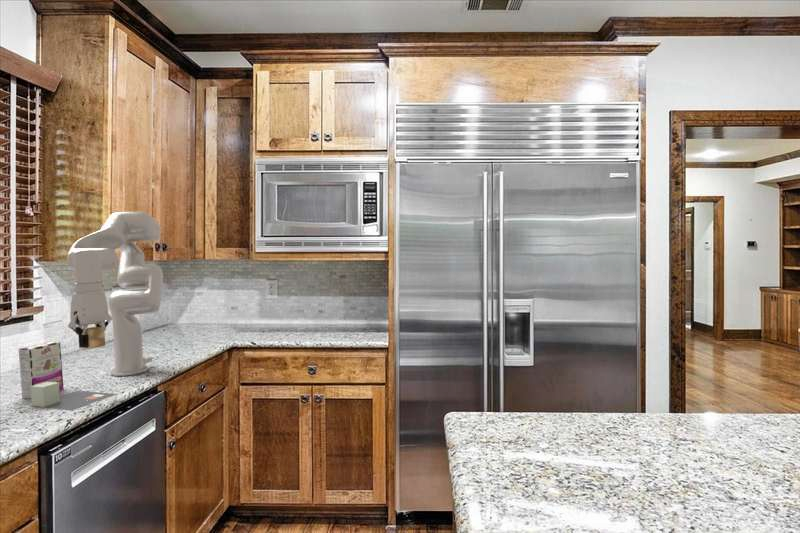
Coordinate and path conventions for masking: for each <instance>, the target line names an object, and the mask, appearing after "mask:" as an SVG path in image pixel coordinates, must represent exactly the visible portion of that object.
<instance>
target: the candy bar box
mask: <svg viewBox="0 0 800 533" xmlns="http://www.w3.org/2000/svg"><path fill="white" fill-rule="evenodd" d="M61 349H62V347H61V341H46V342H41V343H38V344H34V345H29V346H25V347H21V348H18V358H19V370H20V384H21V386H20V387H21V395H22V399H31V386H33V385H37V384H40V383H44V382H57V383H59V391H60V390H63V389H64V378H63V377H64V376H63V375H64V374H63V364H62V350H61Z"/></svg>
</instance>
